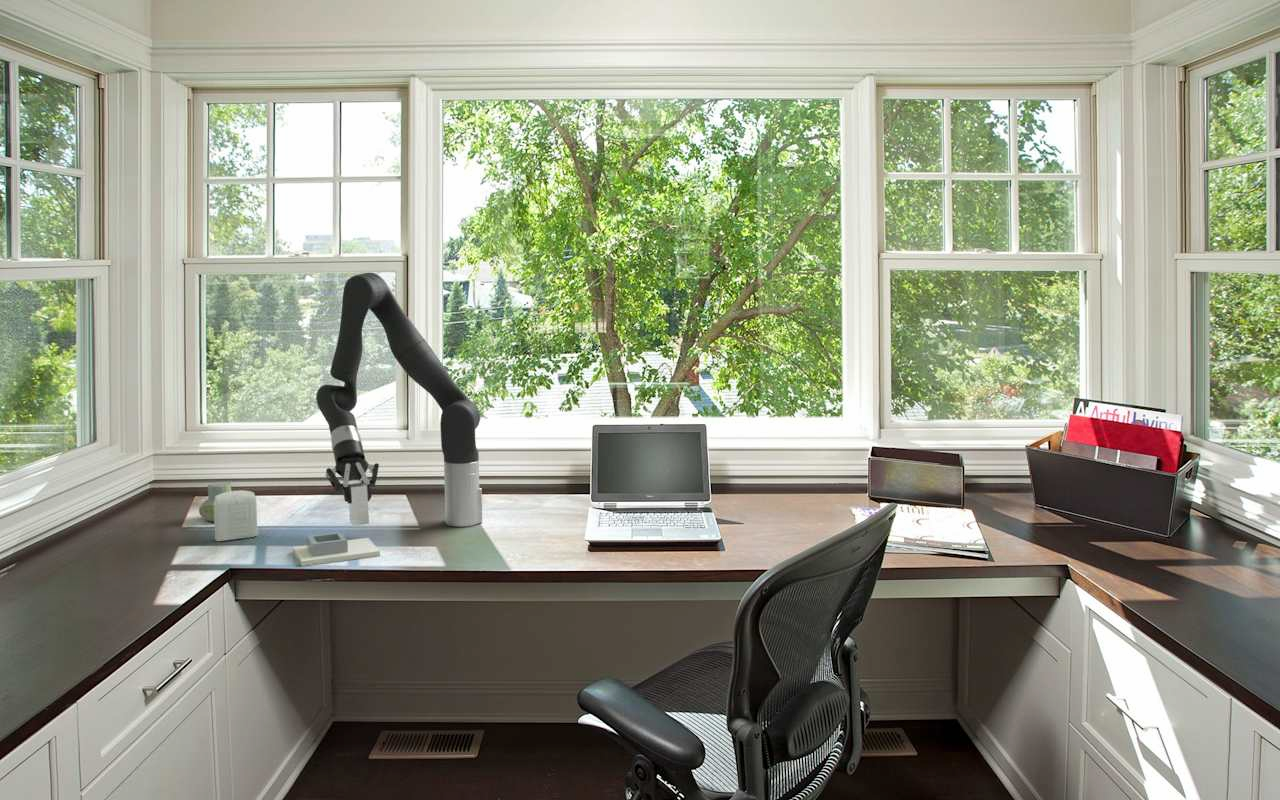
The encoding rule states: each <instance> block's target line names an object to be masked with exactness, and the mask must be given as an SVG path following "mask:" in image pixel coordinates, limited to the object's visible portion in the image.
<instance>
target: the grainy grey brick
mask: <svg viewBox="0 0 1280 800" xmlns="http://www.w3.org/2000/svg"><path fill="white" fill-rule="evenodd" d="M348 487H349V490H350V495H351V503H349V504H348V507H349V508H348V510H349V511H348V512H349V521H350V524H351V525H352V526H361V525H369V524H370V517H369V501H368V495H367V485H366V484H365V483H360V482H357V483H348Z"/></svg>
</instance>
